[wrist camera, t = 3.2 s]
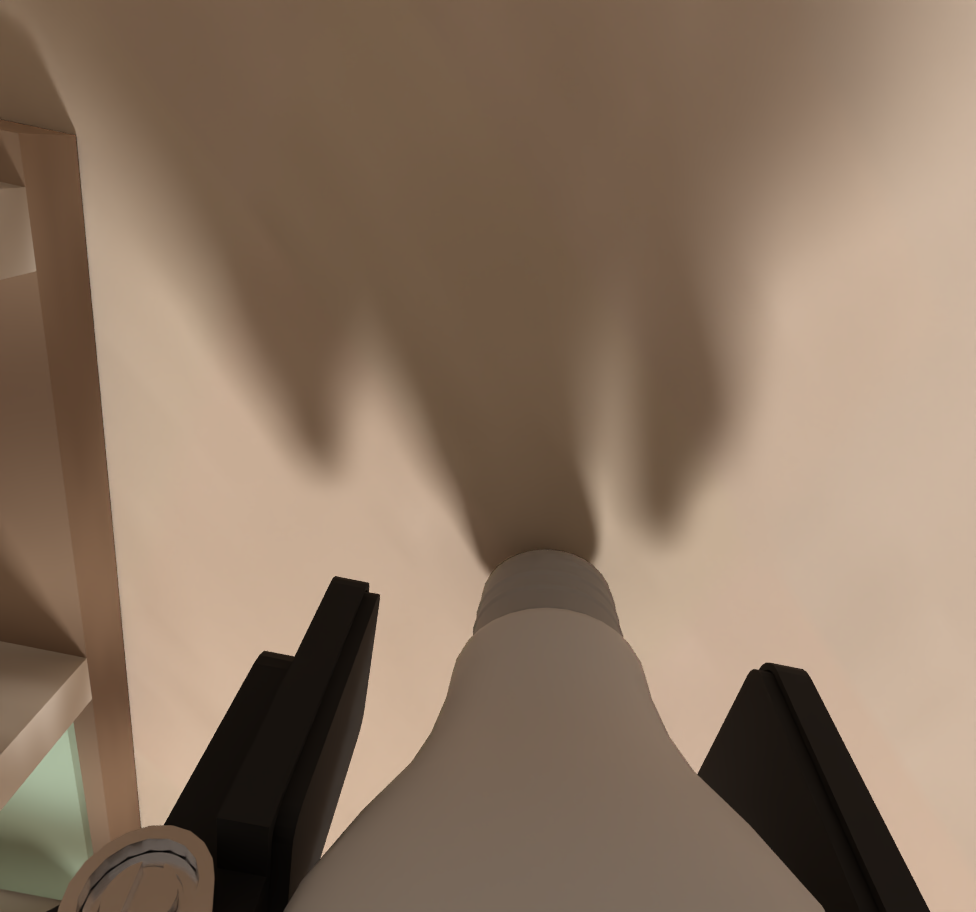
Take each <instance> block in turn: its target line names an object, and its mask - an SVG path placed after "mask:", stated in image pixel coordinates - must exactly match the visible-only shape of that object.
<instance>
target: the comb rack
mask: <svg viewBox="0 0 976 912" xmlns="http://www.w3.org/2000/svg"><path fill="white" fill-rule="evenodd" d="M137 829H141V826H140V815H139V805H138V794H137V783H136V773H135V762H134V751H133V741H132V730H131V719H130V709H129V698H128V688H127V677H126V666H125V656H124V645H123V634H122V624H121V613H120V602H119V592H118V581H117V570H116V560H115V549H114V538H113V528H112V517H111V507H110V496H109V485H108V475H107V464H106V453H105V443H104V432H103V421H102V411H101V400H100V389H99V379H98V368H97V358H96V347H95V336H94V326H93V315H92V304H91V294H90V283H89V272H88V262H87V251H86V240H85V230H84V219H83V209H82V198H81V187H80V177H79V166H78V155H77V145H76V135H72V134H67V133H62V132H58V131H53V130H48V129H43V128H39V127H34V126H29V125H24V124H19V123H15V122H10V121H5V120H0V912H46V911H48V910H50V909H52V908H54V907H56V906H58V905H60V903H61V901H62V898H63V896H64V893H65V891H66V889H67V886H68V884H69V882H70V881H71V880H72V878H73V877H74V876H75V874H76V873H77V872H78V870H79V869H80V868H81V866H82V865H83V864H84V862H85V861H86V860H88V859H89V858H90V857H91V856H92V855H93V854H95V853H96V852H97V851H98V850H99V849H100V848H102V847H103V846H104V845H105V844H107V843H109V842H110V841H112V840H114V839H116V838H118V837H120V836H122V835H123V834H125V833H127V832H130V831H133V830H137Z"/></svg>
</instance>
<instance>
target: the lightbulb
mask: <svg viewBox="0 0 976 912" xmlns="http://www.w3.org/2000/svg"><path fill="white" fill-rule="evenodd" d="M283 912H825V910H824V909H823V907H822V905H821V904H820V903H819V902H818V901H817V900H816V899H815V898H814V897H813V895H812V894H811V893H810V892H809V891H808V890H807V889H806V888H805V886H804V885H803V884H802V883H801V882H800V881H799V880H798V879H797V878H796V876H795V875H794V874H793V873H792V872H791V871H790V870H789V869H788V867H787V866H786V865H785V864H784V863H783V862H782V861H781V860H780V858H779V857H778V856H777V855H776V854H775V853H774V852H773V851H772V850H771V848H770V847H769V846H768V845H767V844H766V843H765V842H764V841H763V839H762V838H761V837H760V836H759V835H758V834H757V833H756V832H755V830H754V829H753V828H752V827H751V826H750V825H749V824H748V823H747V822H746V821H745V820H744V819H743V818H742V817H741V816H740V815H739V814H738V813H737V812H736V811H734V810H733V809H732V808H731V807H730V806H729V805H728V804H727V803H726V802H725V801H724V800H723V799H722V798H721V797H720V796H719V795H718V794H717V793H716V792H715V791H714V790H713V789H712V788H711V787H710V786H709V785H707V784H706V783H705V782H704V781H703V780H702V779H701V778H700V777H699V776H698V775H697V774H696V773H695V772H694V771H693V769H692V768H691V767H690V765H689V764H688V762H687V761H686V759H685V758H684V757H683V755H682V754H681V752H680V751H679V750H678V748H677V747H676V745H675V744H674V743H673V741H672V740H671V738H670V737H669V735H668V733H667V731H666V729H665V726H664V724H663V722H662V720H661V718H660V716H659V714H658V711H657V709H656V707H655V705H654V703H653V701H652V698H651V694H650V691H649V687H648V684H647V680H646V677H645V674H644V671H643V668H642V665H641V662H640V660H639V659H638V657H637V656H636V654H635V652H634V651H633V649H632V648H631V646H630V645H629V643H628V642H627V641H626V640H625V639H624V638H623V634H622V631H621V628H620V625H619V619H618V616H617V613H616V609H615V603H614V600H613V597H612V594H611V592H610V589H609V586H608V584H607V582H606V580H605V579H604V577H603V575H602V574H601V573H600V572H599V571H598V570H597V569H596V568H595V567H594V566H593V565H592V564H590V563H589V562H587V561H586V560H584V559H583V558H580V557H578V556H576V555H574V554H571V553H567V552H563V551H559V550H548V549H544V550H532V551H528V552H524V553H520V554H518V555H516V556H514V557H511V558H509V559H508V560H506V561H505V562H503V563H502V564H500V565H499V566H498V567H497V568H496V569H495V570H494V571H493V572H492V573H491V575H490V576H489V578H488V580H487V581H486V583H485V587H484V590H483V593H482V598H481V601H480V604H479V607H478V610H477V618H476V621H475V624H474V627H473V636H472V637H471V638H470V639H469V640H468V642H467V643H466V645H465V646H464V648H463V650H462V651H461V653H460V654H459V656H458V658H457V660H456V663H455V666H454V669H453V673H452V677H451V681H450V685H449V689H448V693H447V697H446V699H445V702H444V704H443V706H442V709H441V711H440V713H439V716H438V718H437V720H436V723H435V725H434V727H433V730H432V732H431V734H430V735H429V737H428V738H427V740H426V741H425V743H424V744H423V746H422V747H421V749H420V750H419V752H418V753H417V755H416V756H415V758H414V759H413V761H412V762H411V763H410V764H409V765H408V766H407V767H406V768H405V769H404V770H403V771H402V772H401V773H400V774H399V775H398V776H397V777H396V778H395V779H394V780H393V781H392V782H391V783H390V784H389V785H388V786H387V787H386V788H385V789H384V790H383V791H382V792H380V793H379V794H378V795H377V796H376V797H375V798H374V799H373V800H372V801H371V802H370V803H369V804H368V805H367V806H366V807H365V808H364V809H363V810H362V811H361V812H360V814H359V815H358V816H357V817H356V818H355V819H354V821H353V822H352V823H351V824H350V825H349V826H348V828H347V829H346V830H345V831H344V832H343V833H342V834H341V836H340V837H339V838H338V839H337V840H336V841H335V843H334V844H333V845H332V846H331V847H330V848H329V850H328V851H327V852H326V853H325V854H324V855H323V856H322V858H321V859H320V860H319V861H318V862H317V863H316V865H315V866H314V867H313V868H312V869H311V870H310V872H309V873H308V874H307V875H306V876H305V877H304V878H303V880H302V881H301V883H300V884H299V886H298V888H297V889H296V891H295V893H294V894H293V896H292V898H291V899H290V901H289V903H288V904H287V906H286V908H285V910H284V911H283Z"/></svg>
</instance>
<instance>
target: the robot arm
mask: <svg viewBox="0 0 976 912" xmlns="http://www.w3.org/2000/svg"><path fill="white" fill-rule="evenodd" d="M379 601H380V595H379V594H375V593H369V583H367V582H362V581H357V580H352V579H347V578H342V577H337V576H335V577H334V578H333V579H332V581H331V583H330V585H329V587H328V589H327V591H326V593H325V595H324V597H323V599H322V601H321V603H320V605H319V607H318V609H317V611H316V614H315V616H314V618H313V620H312V622H311V624H310V626H309V628H308V630H307V632H306V634H305V636H304V638H303V640H302V642H301V644H300V647H299V649H298V651H297V653H296V655H295V657H294V656H289V655H284V654H279V653H274V652H269V651H263V652H262V653H261V654H260V655H259V657H258V658H257V660H256V661H255V663H254V664H253V666H252V668H251V670H250V671H249V673H248V675H247V677H246V679H245V680H244V682H243V684H242V686H241V688H240V689H239V691H238V693H237V695H236V697H235V698H234V700H233V702H232V704H231V706H230V707H229V709H228V711H227V713H226V714H225V716H224V718H223V720H222V722H221V723H220V725H219V727H218V729H217V731H216V732H215V734H214V736H213V738H212V740H211V741H210V743H209V745H208V747H207V749H206V750H205V752H204V754H203V756H202V758H201V759H200V761H199V763H198V765H197V766H196V768H195V770H194V772H193V774H192V775H191V777H190V779H189V781H188V783H187V784H186V786H185V788H184V790H183V792H182V793H181V795H180V797H179V799H178V801H177V802H176V804H175V806H174V808H173V810H172V811H171V813H170V815H169V817H168V818H167V820H166V822H165V824H164V825H160V826H148V827H144V828H141V829H137V830H133V831H130V832H127V833H125V834H123V835H122V836H120V837H118V838H116V839H114V840H112V841H110V842H109V843H107V844H105V845H104V846H103V847H102V848H100V849H99V850H98V851H97V852H96V853H95V854H93V855H92V856H91V857H90V858H89V859H88V860H86V861H85V862H84V864H83V865H82V866H81V868H80V869H79V870H78V872H77V873H76V874H75V876H74V877H73V878H72V880H71V881H70V882H69V884H68V886H67V889H66V891H65V893H64V896H63V898H62V901H61V903H60V905H58V906H56V907H54V908H52V909H50V910H48V911H46V912H283V911H284V910H285V908H286V906H287V904H288V903H289V901H290V899H291V898H292V896H293V894H294V893H295V891H296V889H297V888H298V886H299V884H300V883H301V881H302V880H303V878H304V877H305V876H306V875H307V874H308V873H309V872H310V870H311V869H312V868H313V867H314V866H315V865H316V863H317V862H318V861H319V860H320V858H321V854H322V851H323V848H324V845H325V842H326V838H327V835H328V832H329V829H330V825H331V822H332V819H333V816H334V813H335V809H336V806H337V803H338V800H339V796H340V793H341V790H342V787H343V784H344V780H345V777H346V774H347V771H348V767H349V764H350V761H351V758H352V755H353V751H354V748H355V745H356V742H357V739H358V735H359V732H360V728H361V724H362V719H363V715H364V708H365V701H366V694H367V687H368V680H369V673H370V666H371V658H372V651H373V644H374V637H375V630H376V623H377V616H378V609H379ZM697 775H698V776H699V777H700V778H701V779H702V780H703V781H704V782H705V783H706V784H707V785H709V786H710V787H711V788H712V789H713V790H714V791H715V792H716V793H717V794H718V795H719V796H720V797H721V798H722V799H723V800H724V801H725V802H726V803H727V804H728V805H729V806H730V807H731V808H732V809H733V810H734V811H736V812H737V813H738V814H739V815H740V816H741V817H742V818H743V819H744V820H745V821H746V822H747V823H748V824H749V825H750V826H751V827H752V828H753V829H754V830H755V832H756V833H757V834H758V835H759V836H760V837H761V838H762V839H763V841H764V842H765V843H766V844H767V845H768V846H769V847H770V848H771V850H772V851H773V852H774V853H775V854H776V855H777V856H778V857H779V858H780V860H781V861H782V862H783V863H784V864H785V865H786V866H787V867H788V869H789V870H790V871H791V872H792V873H793V874H794V875H795V876H796V878H797V879H798V880H799V881H800V882H801V883H802V884H803V885H804V886H805V888H806V889H807V890H808V891H809V892H810V893H811V894H812V895H813V897H814V898H815V899H816V900H817V901H818V902H819V903H820V904H821V905H822V907H823V909H824V910H825V912H930V910H929V908H928V906H927V905H926V903H925V901H924V899H923V897H922V895H921V893H920V891H919V889H918V887H917V885H916V883H915V881H914V879H913V877H912V875H911V873H910V871H909V869H908V867H907V865H906V863H905V862H904V860H903V858H902V856H901V854H900V852H899V850H898V848H897V846H896V844H895V842H894V840H893V838H892V836H891V834H890V832H889V830H888V828H887V826H886V824H885V822H884V820H883V818H882V817H881V815H880V813H879V811H878V809H877V807H876V805H875V803H874V801H873V799H872V797H871V795H870V793H869V791H868V789H867V787H866V785H865V783H864V781H863V779H862V777H861V775H860V773H859V772H858V770H857V768H856V766H855V764H854V762H853V760H852V758H851V756H850V754H849V752H848V750H847V748H846V746H845V744H844V742H843V740H842V738H841V736H840V734H839V732H838V730H837V729H836V727H835V725H834V723H833V721H832V719H831V717H830V715H829V713H828V711H827V709H826V707H825V705H824V703H823V701H822V699H821V697H820V695H819V693H818V691H817V689H816V687H815V685H814V684H813V682H812V680H811V678H810V676H809V675H808V673H807V672H806V671H804V670H803V669H799V668H794V667H789V666H784V665H779V664H774V663H765V664H763V665H762V666H761V667H760V669H759V670H756V669H753V670H751V671H750V672H749V674H748V675H747V677H746V679H745V681H744V683H743V685H742V687H741V689H740V691H739V693H738V695H737V697H736V699H735V701H734V703H733V705H732V707H731V709H730V711H729V713H728V715H727V717H726V719H725V721H724V723H723V725H722V727H721V729H720V731H719V733H718V735H717V737H716V739H715V741H714V743H713V745H712V747H711V749H710V751H709V753H708V755H707V756H706V758H705V760H704V762H703V764H702V766H701V768H700V770H699V772H698V774H697Z"/></svg>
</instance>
